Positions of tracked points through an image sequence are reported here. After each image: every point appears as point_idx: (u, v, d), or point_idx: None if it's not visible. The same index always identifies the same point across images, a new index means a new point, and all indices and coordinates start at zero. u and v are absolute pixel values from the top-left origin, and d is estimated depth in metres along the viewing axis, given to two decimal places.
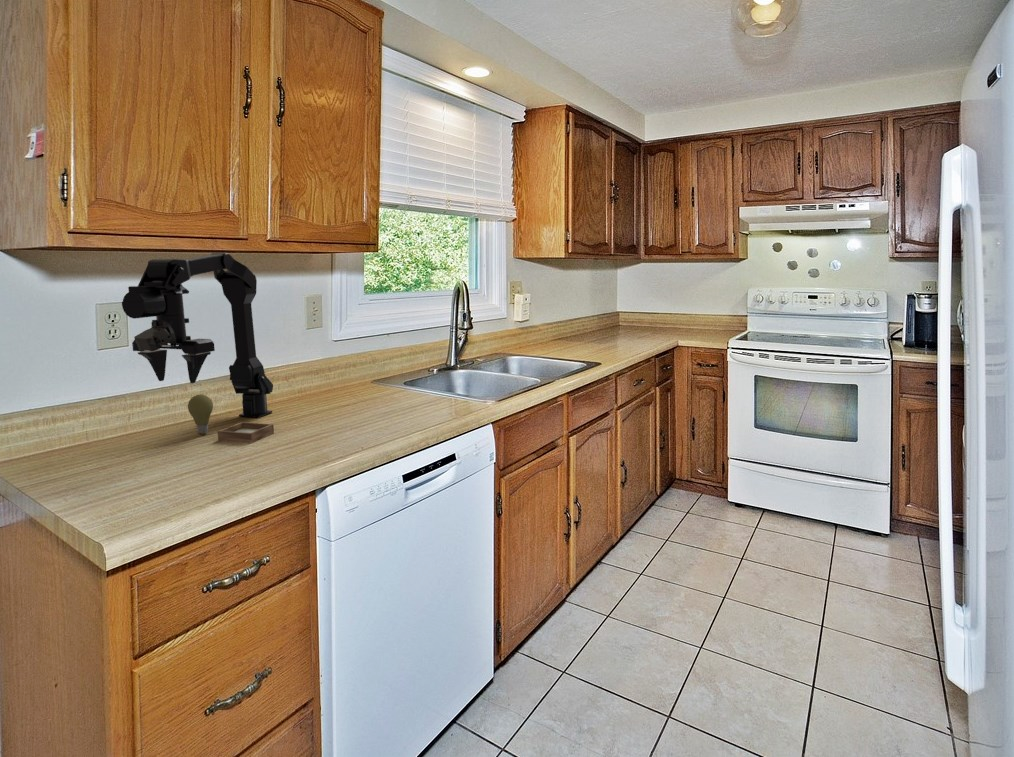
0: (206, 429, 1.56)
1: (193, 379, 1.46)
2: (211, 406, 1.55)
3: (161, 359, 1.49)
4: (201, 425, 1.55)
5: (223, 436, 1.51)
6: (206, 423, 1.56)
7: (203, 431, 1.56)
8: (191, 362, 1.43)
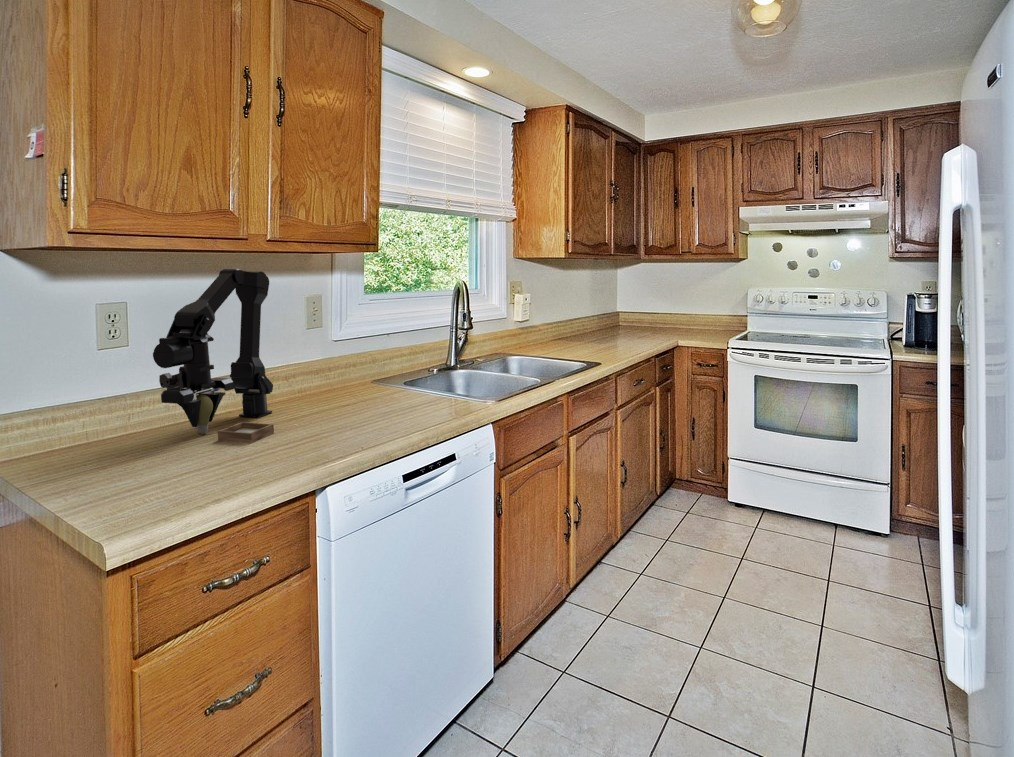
0: (206, 429, 1.56)
1: (192, 423, 1.53)
2: (211, 406, 1.55)
3: None
4: (201, 425, 1.55)
5: (223, 436, 1.51)
6: (206, 423, 1.56)
7: (203, 431, 1.56)
8: None
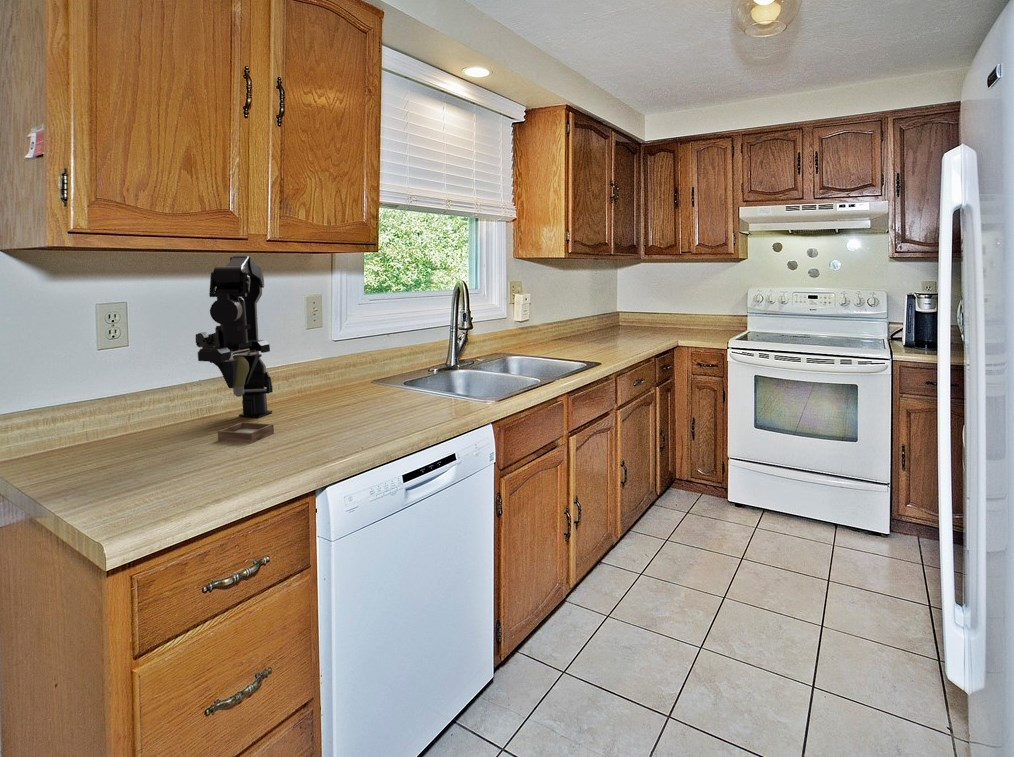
0: (242, 391, 1.52)
1: (228, 384, 1.49)
2: (247, 367, 1.51)
3: None
4: (237, 386, 1.51)
5: (223, 436, 1.51)
6: (242, 384, 1.52)
7: (239, 393, 1.51)
8: None
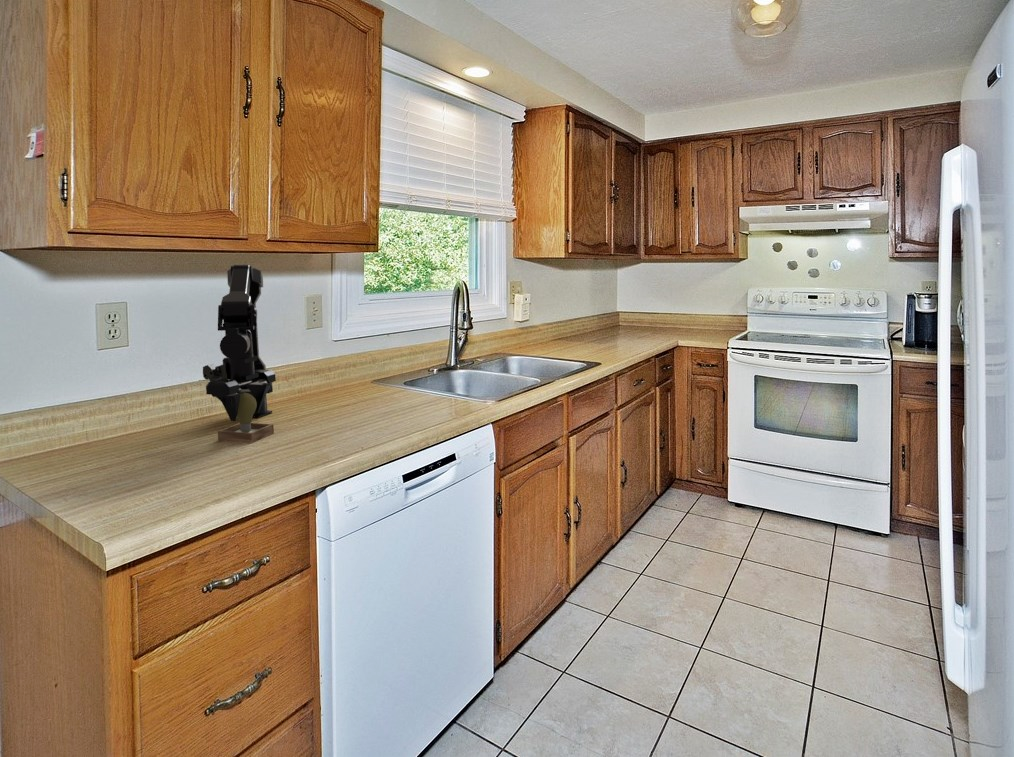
0: (249, 428, 1.53)
1: (231, 417, 1.49)
2: (255, 404, 1.53)
3: (258, 393, 1.57)
4: (244, 423, 1.52)
5: (223, 436, 1.51)
6: (250, 421, 1.53)
7: (246, 430, 1.53)
8: None
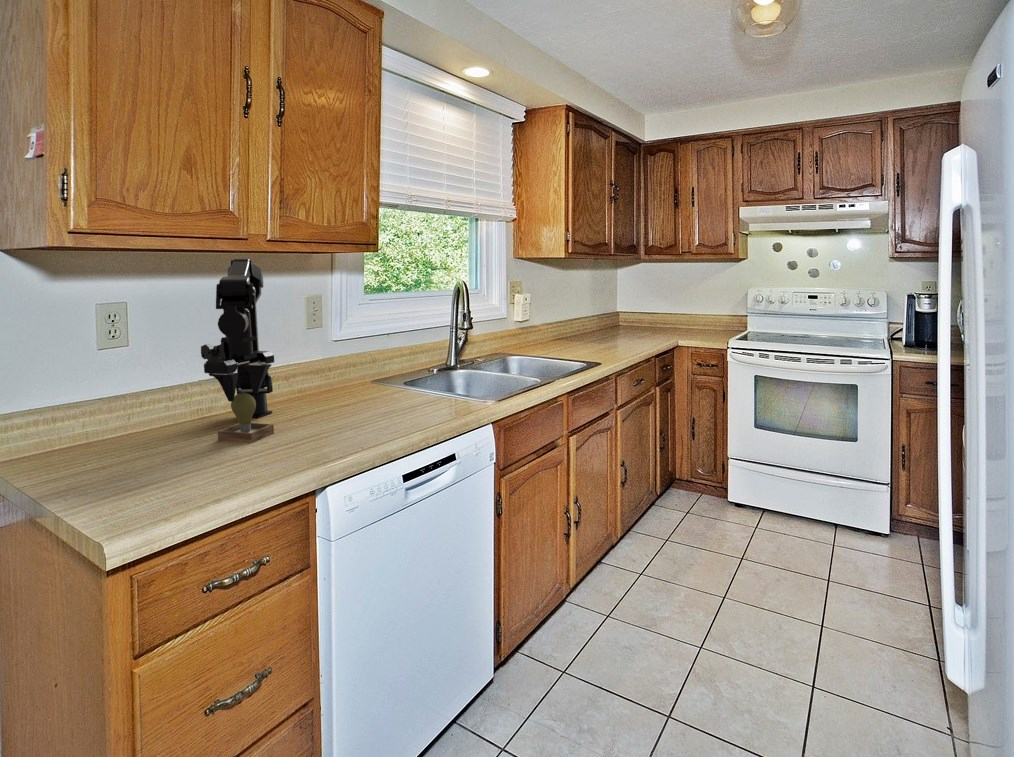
0: (249, 428, 1.53)
1: (228, 397, 1.47)
2: (254, 405, 1.53)
3: (257, 373, 1.56)
4: (244, 424, 1.52)
5: (223, 436, 1.51)
6: (249, 422, 1.53)
7: (246, 430, 1.53)
8: None
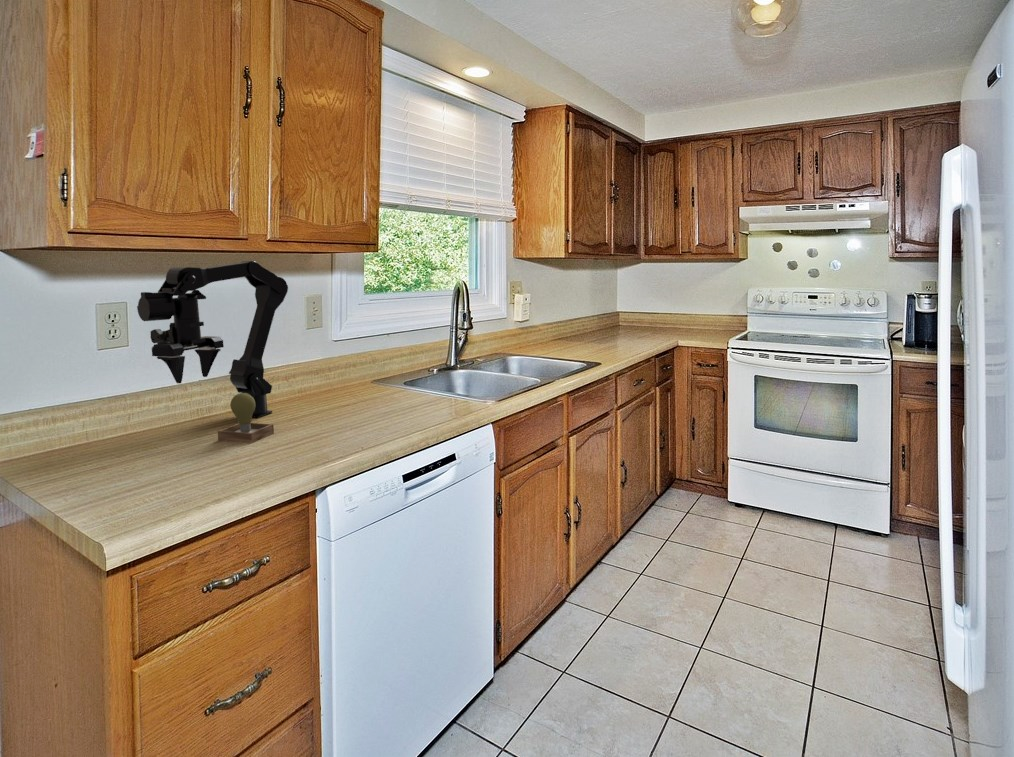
0: (249, 428, 1.53)
1: (176, 380, 1.56)
2: (254, 405, 1.53)
3: (207, 358, 1.64)
4: (244, 424, 1.52)
5: (223, 436, 1.51)
6: (249, 422, 1.53)
7: (246, 430, 1.53)
8: None
